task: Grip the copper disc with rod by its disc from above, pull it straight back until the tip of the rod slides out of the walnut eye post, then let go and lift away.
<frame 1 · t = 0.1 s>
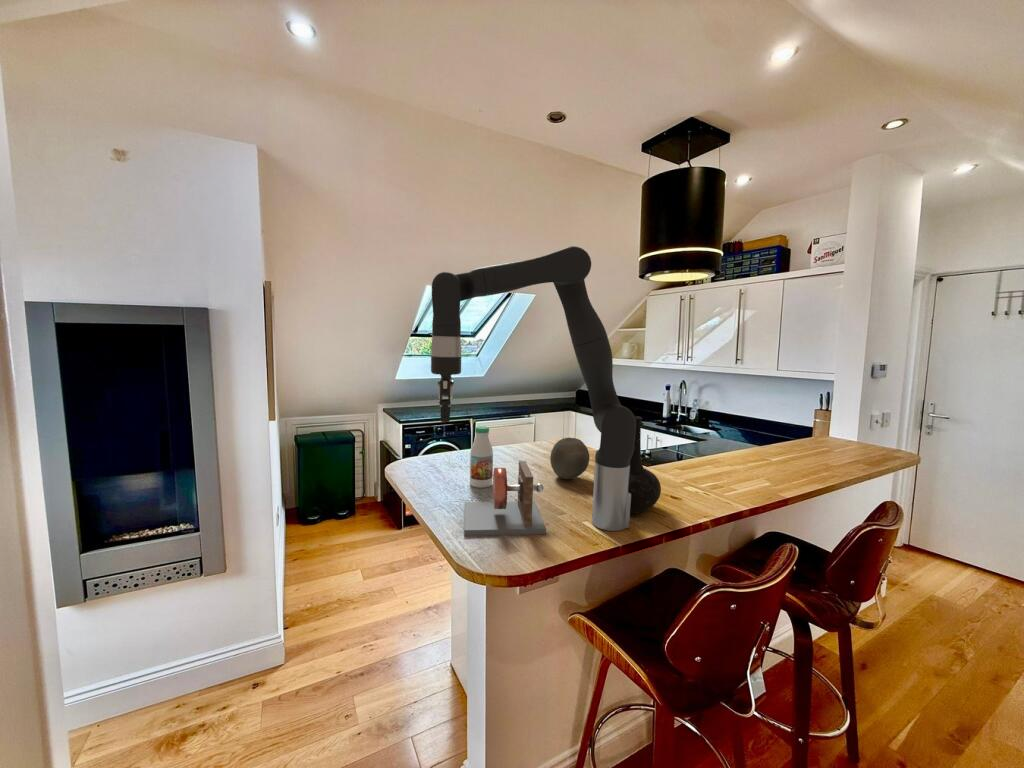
hand: (445, 418, 105), 29 cm above the table, tool pointing down, fingers open, 8 cm apart
copper disc with rod: (519, 488, 114), point 9 cm above the table, slide at 0.0 cm
dark brown ball: (568, 479, 150), on the table
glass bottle: (628, 508, 126), on the table
milk bottle: (481, 485, 141), on the table
base board: (502, 519, 114), on the table
eye post: (524, 519, 115), resting on base board
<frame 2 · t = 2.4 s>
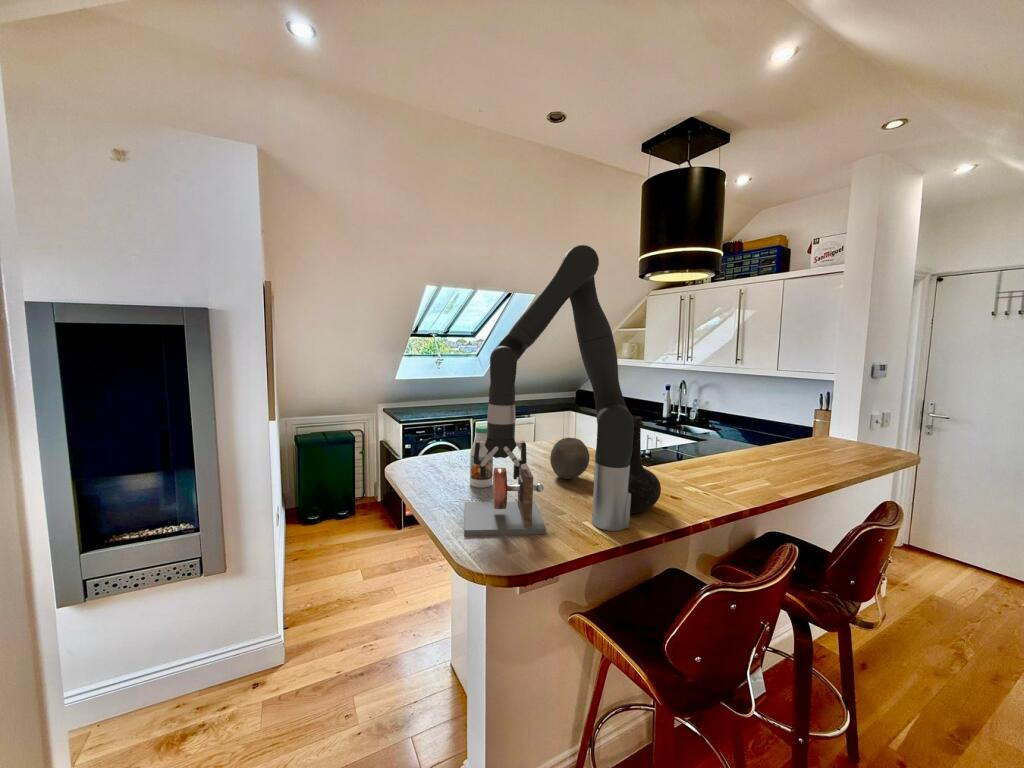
hand: (499, 478, 113), 12 cm above the table, tool pointing down, fingers open, 8 cm apart
nothing on the table moved.
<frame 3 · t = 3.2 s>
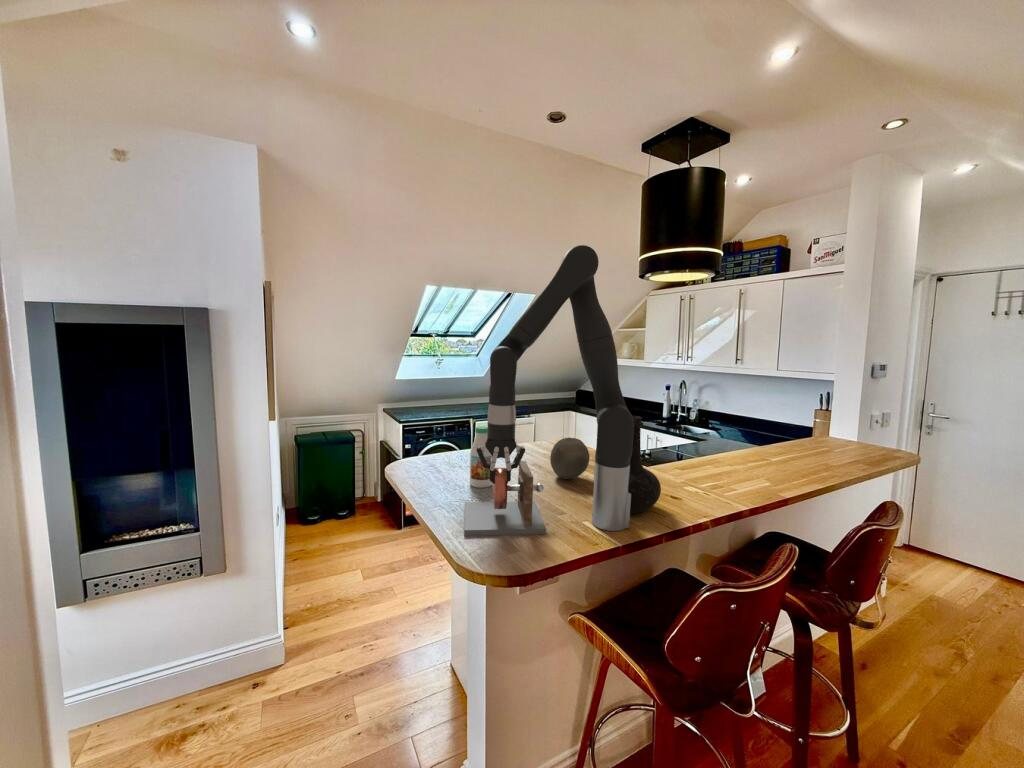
hand: (499, 482, 113), 11 cm above the table, tool pointing down, fingers closed on copper disc with rod, 3 cm apart
copper disc with rod: (519, 488, 114), point 9 cm above the table, slide at 0.0 cm, touching gripper
everything else where it was.
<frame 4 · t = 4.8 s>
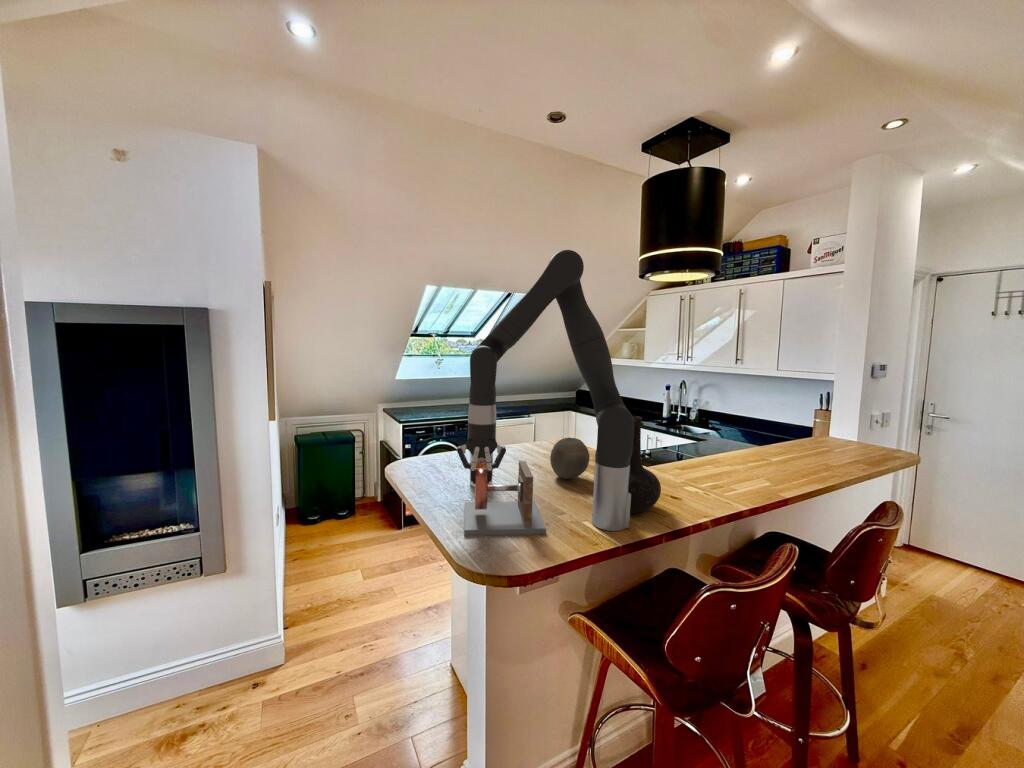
hand: (480, 482, 112), 11 cm above the table, tool pointing down, fingers closed on copper disc with rod, 3 cm apart
copper disc with rod: (500, 488, 113), point 9 cm above the table, slide at 5.2 cm, touching gripper
everything else where it was.
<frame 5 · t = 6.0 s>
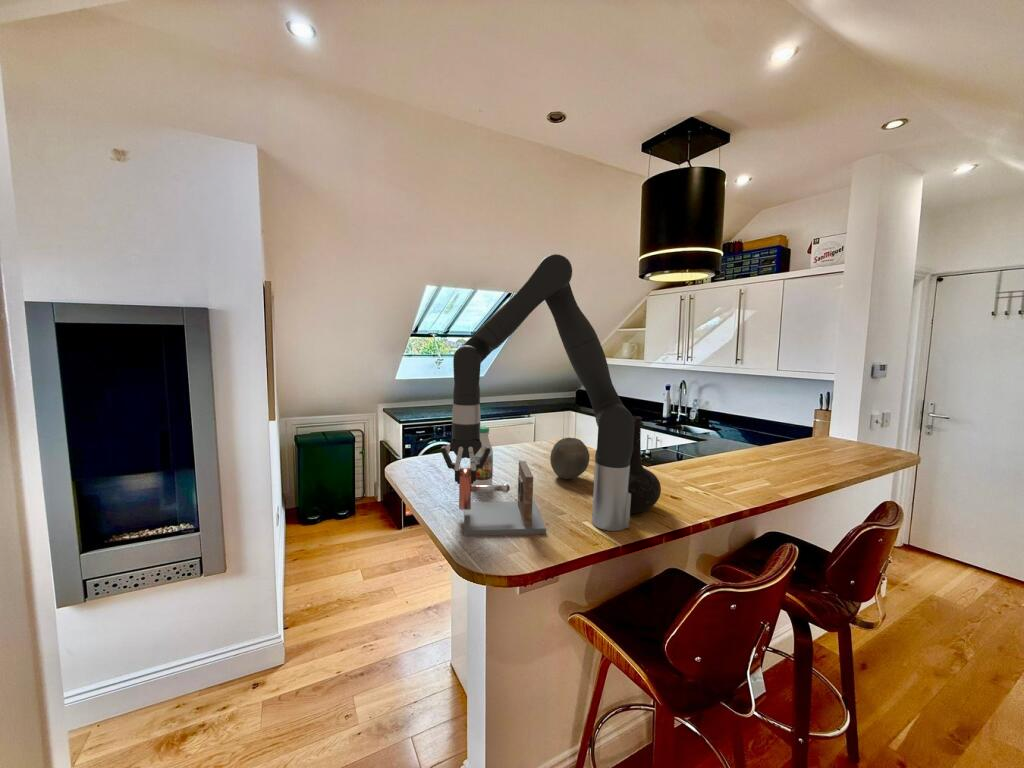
hand: (465, 482, 112), 11 cm above the table, tool pointing down, fingers closed on copper disc with rod, 3 cm apart
copper disc with rod: (484, 488, 113), point 9 cm above the table, slide at 9.4 cm, touching gripper
everything else where it was.
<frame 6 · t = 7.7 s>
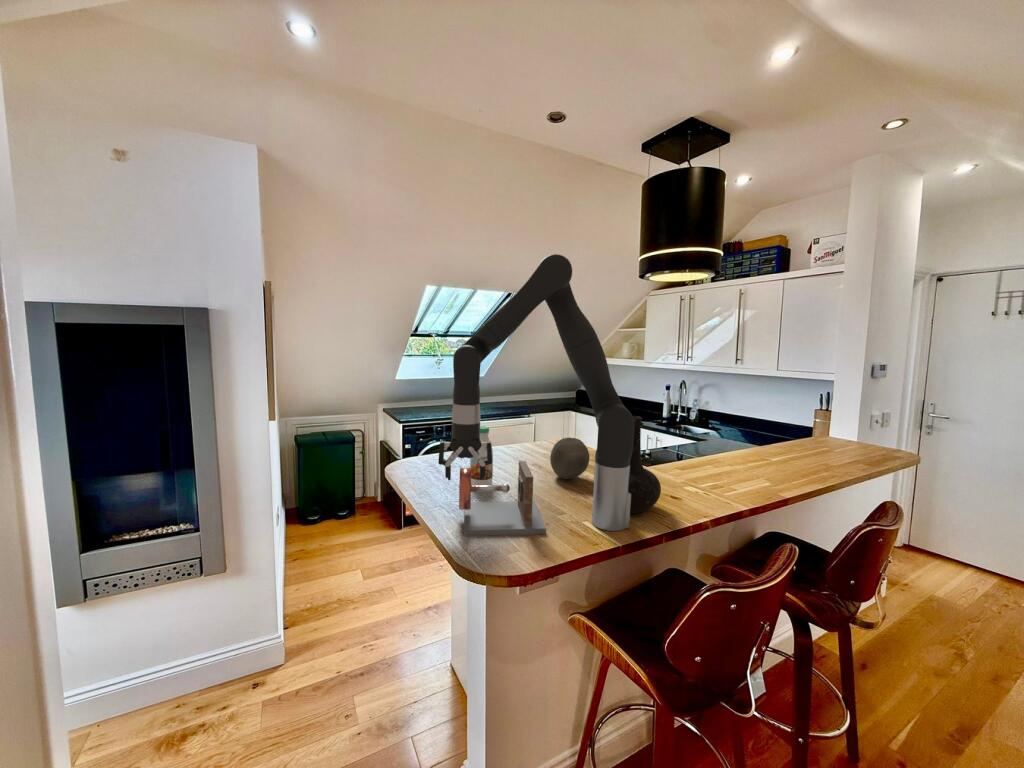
hand: (465, 479, 112), 12 cm above the table, tool pointing down, fingers open, 8 cm apart
copper disc with rod: (484, 488, 113), point 9 cm above the table, slide at 9.4 cm
everything else where it was.
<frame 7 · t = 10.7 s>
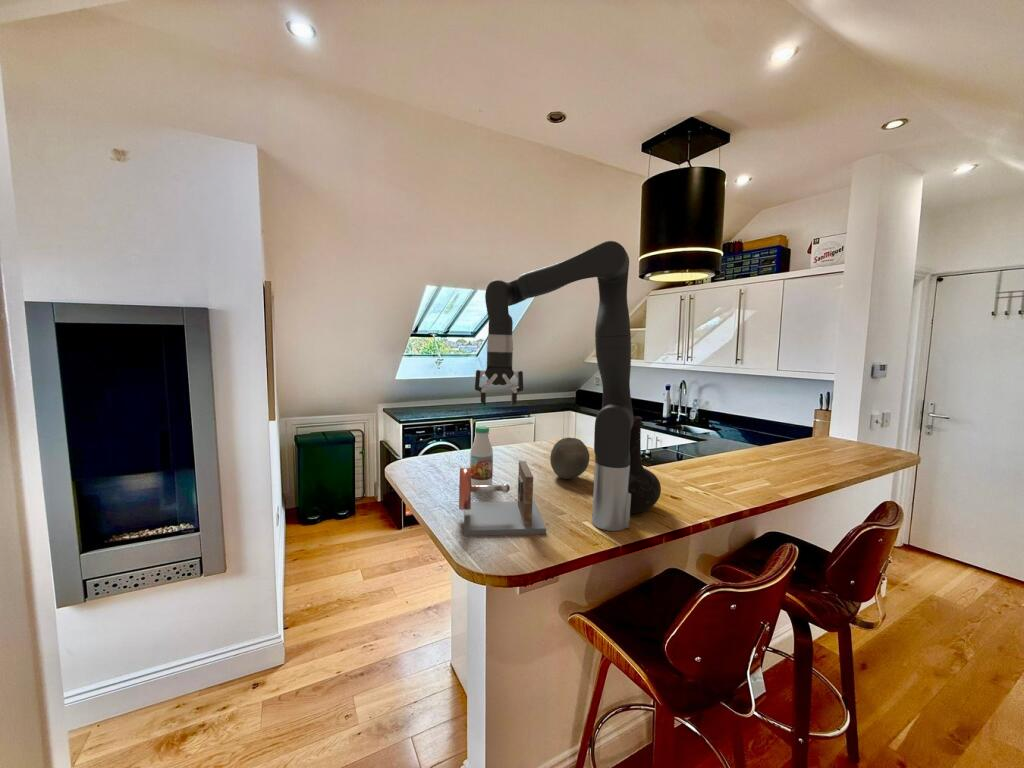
hand: (498, 405, 123), 30 cm above the table, tool pointing down, fingers open, 8 cm apart
nothing on the table moved.
at the end: copper disc with rod slide at 9.4 cm; the gripper is holding nothing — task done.
